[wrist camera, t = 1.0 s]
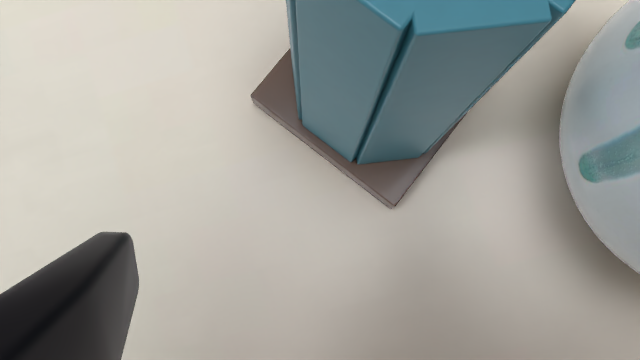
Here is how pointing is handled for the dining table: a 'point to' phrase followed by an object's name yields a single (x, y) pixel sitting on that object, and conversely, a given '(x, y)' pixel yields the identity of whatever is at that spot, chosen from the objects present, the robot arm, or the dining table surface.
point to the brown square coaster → (376, 178)
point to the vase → (607, 135)
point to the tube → (403, 66)
